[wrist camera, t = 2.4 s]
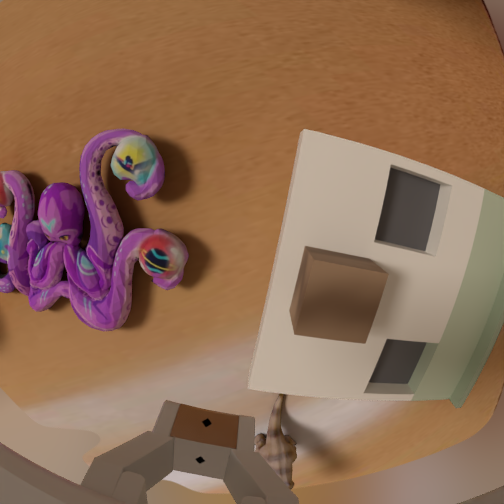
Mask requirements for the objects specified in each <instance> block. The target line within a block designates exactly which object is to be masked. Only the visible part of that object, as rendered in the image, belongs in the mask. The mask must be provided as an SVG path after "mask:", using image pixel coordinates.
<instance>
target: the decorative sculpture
mask: <svg viewBox="0 0 504 504" xmlns="http://www.w3.org/2000/svg"><path fill="white" fill-rule="evenodd" d="M113 146H117V148H116V150H115V152H114V154H113V157H112V161H111V168H112V170H113V173H114V175H115V176H116V177H118V178H119V179H120V180H133V181H129V182H128V183H127V184H126V191H127V193H128V194H129V195H130V197H132V198H134V199H136V200H142V199H147V198H150V197H152V196H154V195H155V194H156V193H157V192H158V190H159V189H160V188H161V187H162V185H163V182H164V178H165V169H164V163H163V159H162V157H161V155H160V154H159V152H158V150H157V148H156V146H155V144H154V143H153V142H152V140H151V139H150V138H149V137H148V135H142V134H141V133H139V132H136V131H134V130H129V129H115V130H107V131H104V132H101V133H99V134H98V135H96V136H95V137H93V138H92V139H91V140H90V141H89V142H88V143H87V144H86V146H85V148H84V150H83V153H82V155H81V160H80V182H81V189H82V192H83V196H84V200H85V203H86V206H87V209H88V213H89V218H90V223H91V232H90V238H89V241H88V244H87V248H86V251H85V250H83V249H81V247H80V246H79V245H78V244H79V243H80V241H81V239H82V236H83V220H84V214H85V206H84V203H83V199H82V196H81V194H80V193H79V191H78V190H77V189H76V188H75V187H74V186H72V185H70V184H68V183H53V184H51V185H48V186H47V188H46V189H45V190H44V191H43V193H42V195H41V198H40V201H39V208H38V218H39V220H36V221H33V217H34V212H35V198H34V192H33V188H32V186H31V184H30V182H29V180H28V179H27V178H26V176H25V175H24V174H22V173H21V172H19V171H15V170H11V171H1V172H0V217H1V218H4V217H5V216H6V214H7V210H6V207H5V206H9V205H11V203H12V201H13V199H15V212H14V218H13V223H12V225H9V224H7V223H2V224H1V225H0V262H1V263H4V264H8V272H7V274H4V275H2V274H1V272H0V292H4V293H10V292H12V291H13V290H14V289H15V288H17V289H18V290H19V291H20V292H21V293H23V294H25V295H27V296H29V297H28V298H29V304H30V306H31V307H32V309H34V310H35V311H40V312H41V311H44V310H47V309H49V308H51V306H52V305H53V304H54V303H55V302H56V301H57V300H58V299H59V298H60V297H62V296H64V297H66V298H70V302H71V305H72V308H73V310H74V312H75V313H76V315H77V317H78V318H79V319H80V320H81V321H82V322H84V323H85V324H86V325H88V326H89V327H91V328H94V329H98V330H101V331H113V330H115V329H118V328H120V327H121V326H122V325H123V324H124V323H125V322H126V320H127V317H128V315H129V313H130V310H131V302H132V275H133V269H134V263H135V262H136V261H137V260H138V259H139V262H140V264H141V267H142V268H143V270H144V271H145V272H146V273H147V274H148V275H150V276H153V277H154V278H153V279H152V282H153V283H155V284H156V285H158V286H159V287H161V288H163V289H165V290H169V289H172V288H175V286H176V285H177V284H178V283H179V282H180V281H181V280H182V278H183V273H184V266H185V264H186V262H187V260H188V257H189V254H188V252H187V249H186V246H185V244H184V243H183V242H182V241H181V240H180V239H179V238H178V237H177V236H175V235H174V234H173V233H171V232H168V231H166V230H163V229H157V230H153V229H148V228H137V229H134V230H131V231H130V232H129V233H128V234H127V235H126V236H125V237H124V238H123V233H124V227H123V223H122V220H121V218H120V216H119V213H118V210H117V208H116V205H115V203H114V201H113V199H112V197H111V195H110V194H109V193H108V191H107V190H106V189H105V186H104V183H103V180H102V177H101V160H102V158H103V155H104V153H105V151H106V150H108V149H110V148H111V147H113ZM122 238H123V239H122ZM48 239H49V240H50V241H51V242H50V243H48V241H49V240H48ZM121 240H122V241H121ZM52 241H56V242H54V243H53V242H52ZM60 241H61V242H60ZM63 242H64V243H63ZM120 242H121V243H120ZM66 243H67V244H66ZM46 244H47V245H46ZM39 251H40V252H39ZM38 252H39V253H38ZM37 254H38V255H37ZM36 255H37V257H36ZM113 263H114V264H113ZM64 266H65V268H66V270H67V278H68V281H61V278H62V275H63V270H64ZM112 267H113V269H112ZM110 286H111V288H109V287H110Z"/></svg>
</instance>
